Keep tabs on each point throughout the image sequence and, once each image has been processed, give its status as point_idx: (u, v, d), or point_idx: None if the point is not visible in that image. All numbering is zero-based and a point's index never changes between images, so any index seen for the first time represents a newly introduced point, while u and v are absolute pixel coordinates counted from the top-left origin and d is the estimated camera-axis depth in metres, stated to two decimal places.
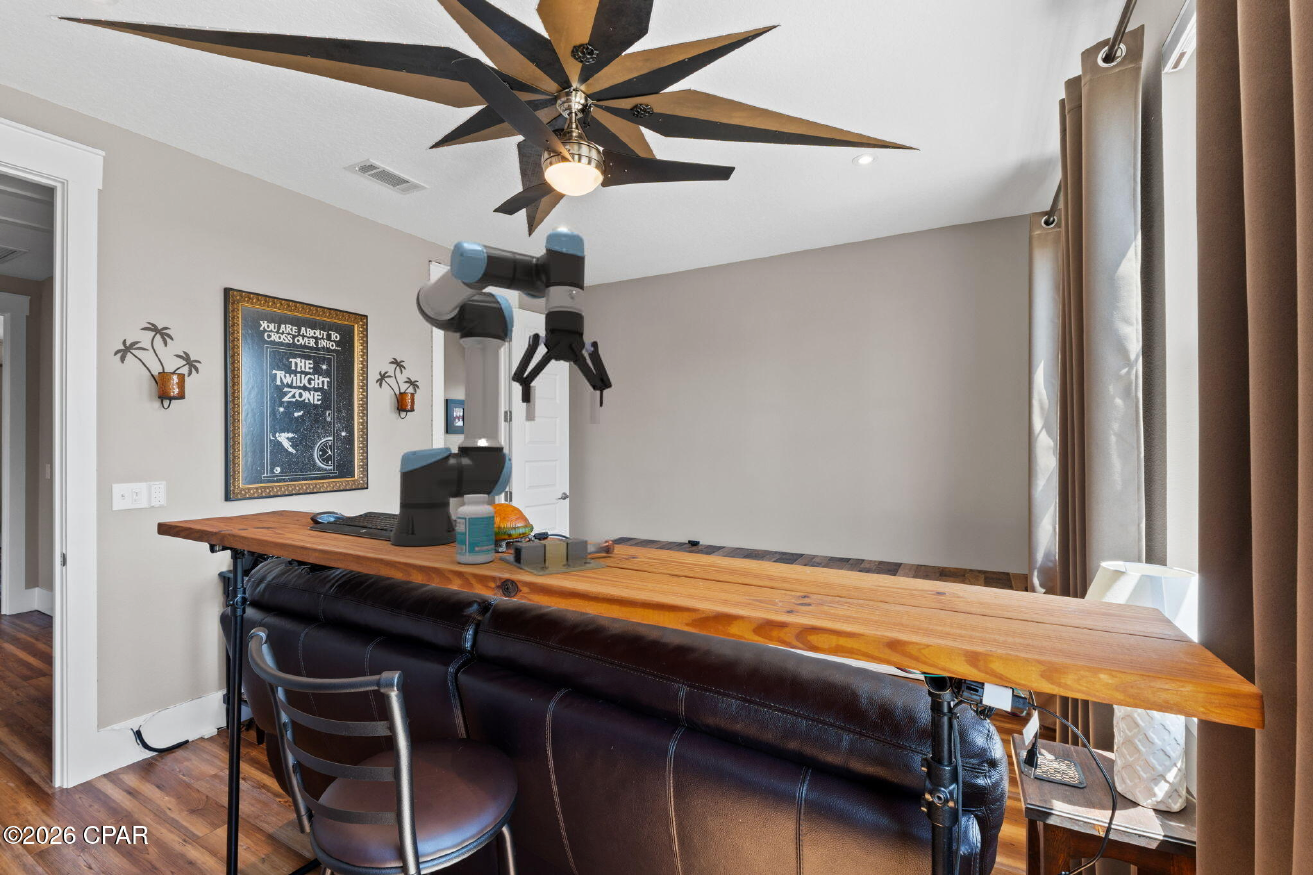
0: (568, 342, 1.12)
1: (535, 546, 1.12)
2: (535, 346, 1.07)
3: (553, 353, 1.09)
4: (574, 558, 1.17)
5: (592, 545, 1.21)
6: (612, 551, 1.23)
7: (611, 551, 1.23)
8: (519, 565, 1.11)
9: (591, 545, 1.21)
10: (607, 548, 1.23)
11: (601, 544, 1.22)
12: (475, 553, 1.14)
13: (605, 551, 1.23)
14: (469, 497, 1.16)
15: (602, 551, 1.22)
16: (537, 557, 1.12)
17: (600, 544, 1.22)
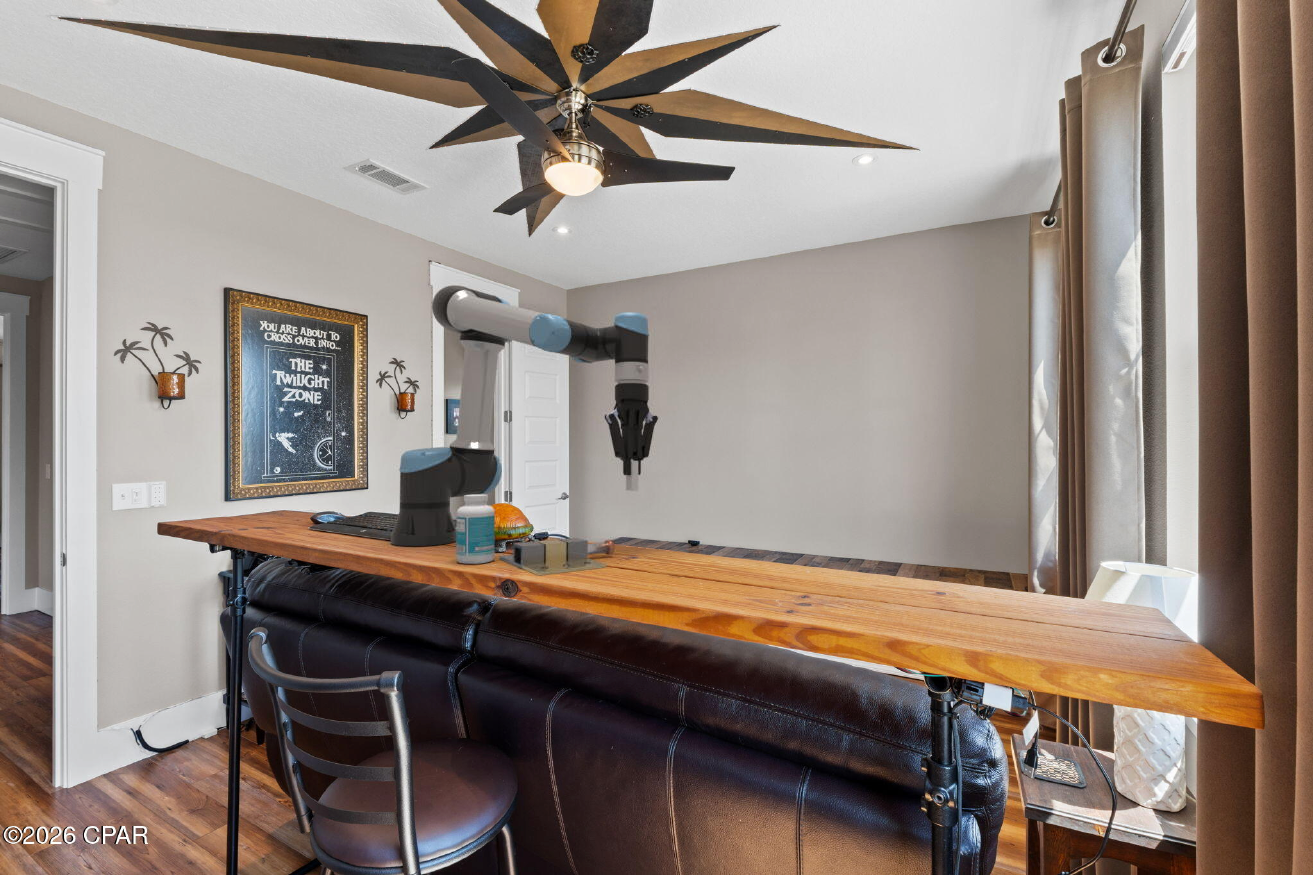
0: (638, 401, 1.28)
1: (535, 546, 1.12)
2: (616, 424, 1.24)
3: (630, 424, 1.26)
4: (574, 558, 1.17)
5: (592, 545, 1.21)
6: (612, 551, 1.23)
7: (611, 551, 1.23)
8: (519, 565, 1.11)
9: (591, 545, 1.21)
10: (607, 548, 1.23)
11: (601, 544, 1.22)
12: (475, 553, 1.14)
13: (605, 551, 1.23)
14: (469, 497, 1.16)
15: (602, 551, 1.22)
16: (537, 557, 1.12)
17: (600, 544, 1.22)
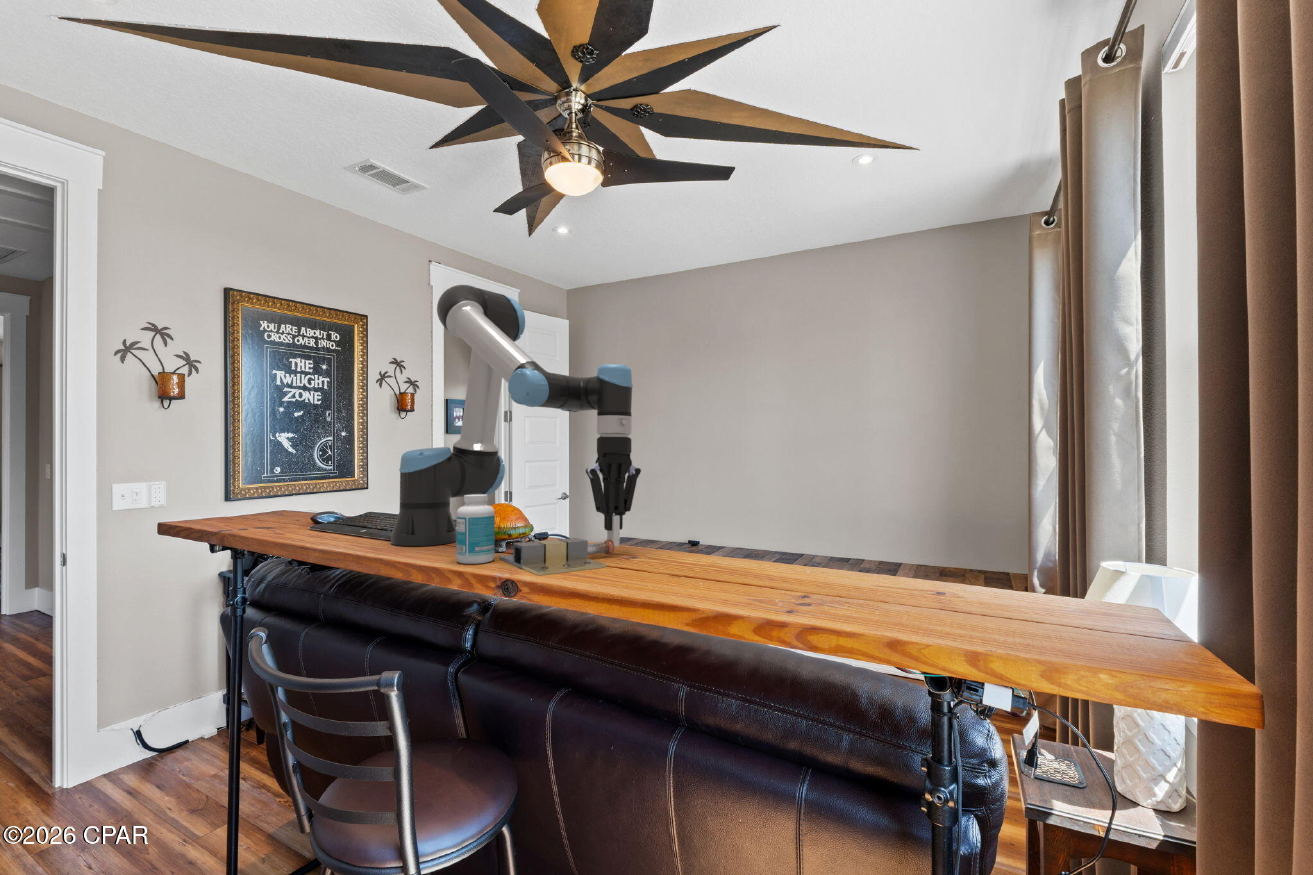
0: (620, 454, 1.25)
1: (535, 546, 1.12)
2: (597, 479, 1.22)
3: (612, 478, 1.23)
4: (574, 558, 1.17)
5: (592, 545, 1.21)
6: (612, 551, 1.23)
7: (611, 551, 1.23)
8: (519, 565, 1.11)
9: (591, 545, 1.21)
10: (607, 548, 1.23)
11: (601, 544, 1.22)
12: (475, 553, 1.14)
13: (605, 551, 1.23)
14: (469, 497, 1.16)
15: (602, 551, 1.22)
16: (537, 557, 1.12)
17: (600, 544, 1.22)
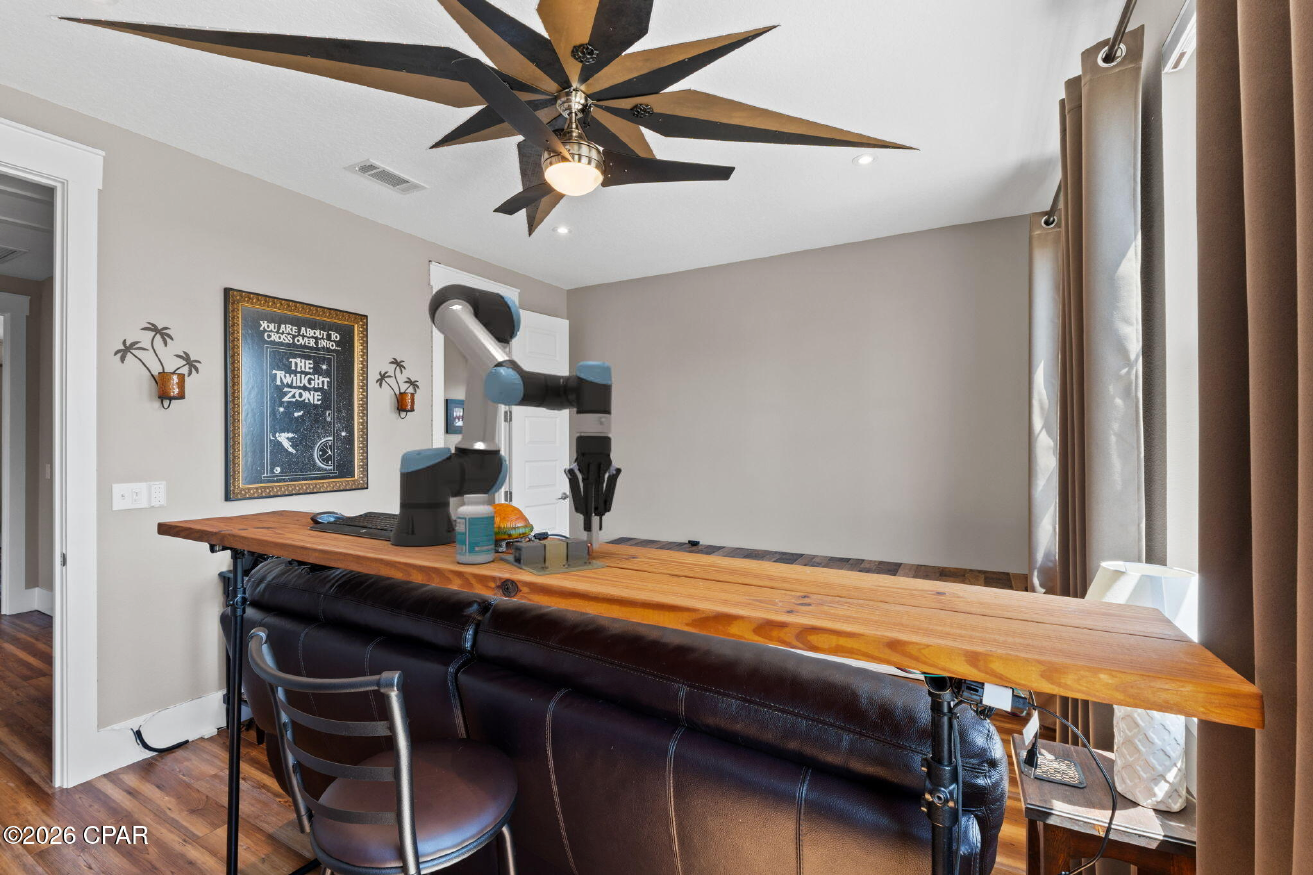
0: (600, 454, 1.22)
1: (535, 546, 1.12)
2: (576, 479, 1.19)
3: (591, 478, 1.20)
4: (574, 558, 1.17)
5: None
6: (591, 553, 1.20)
7: (590, 553, 1.20)
8: (519, 565, 1.11)
9: None
10: None
11: None
12: (475, 553, 1.14)
13: None
14: (469, 497, 1.16)
15: None
16: (537, 557, 1.12)
17: None
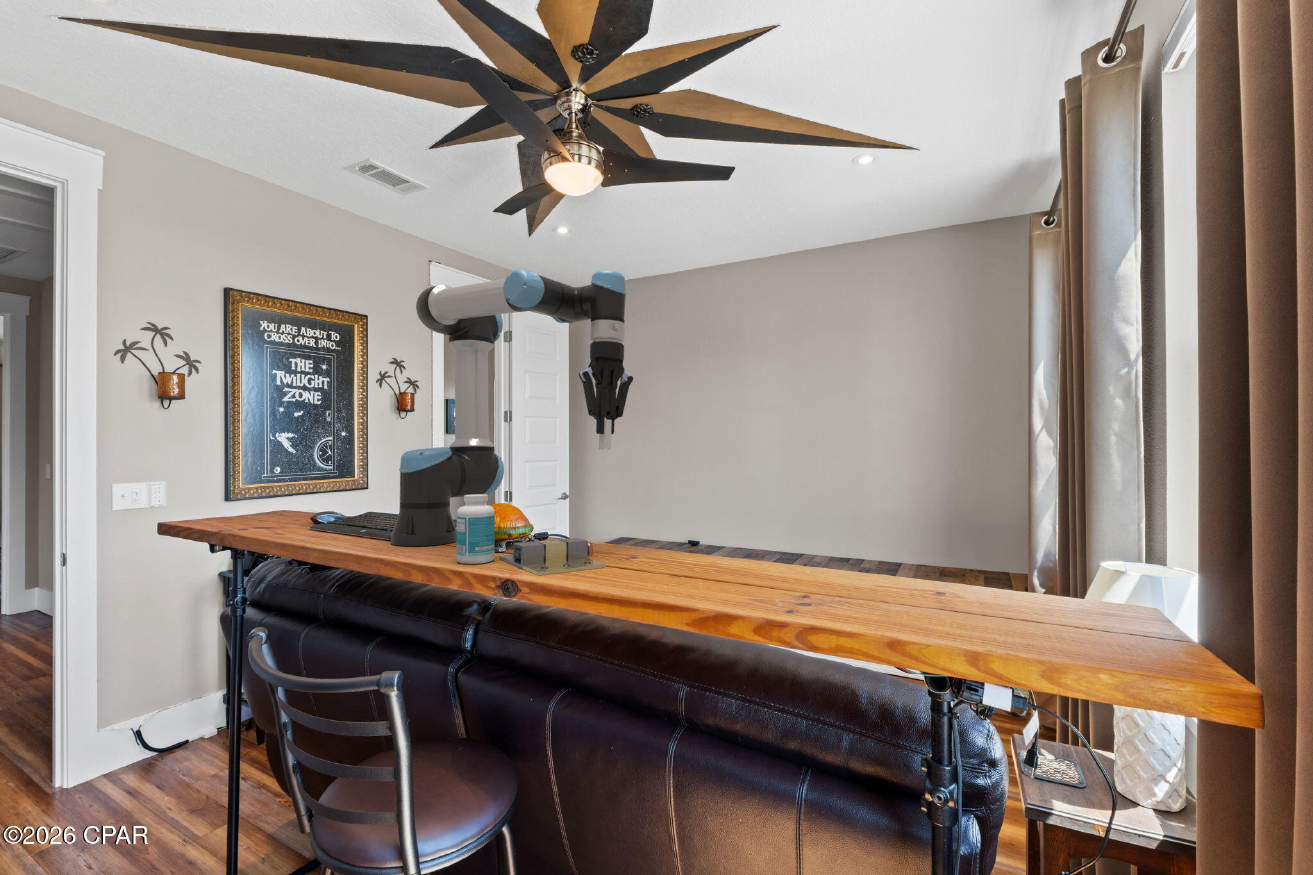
0: (613, 360, 1.27)
1: (535, 546, 1.12)
2: (590, 381, 1.24)
3: (604, 382, 1.26)
4: (574, 558, 1.17)
5: None
6: (591, 553, 1.20)
7: (589, 553, 1.20)
8: (519, 565, 1.11)
9: None
10: None
11: None
12: (475, 553, 1.14)
13: None
14: (469, 497, 1.16)
15: None
16: (537, 557, 1.12)
17: None
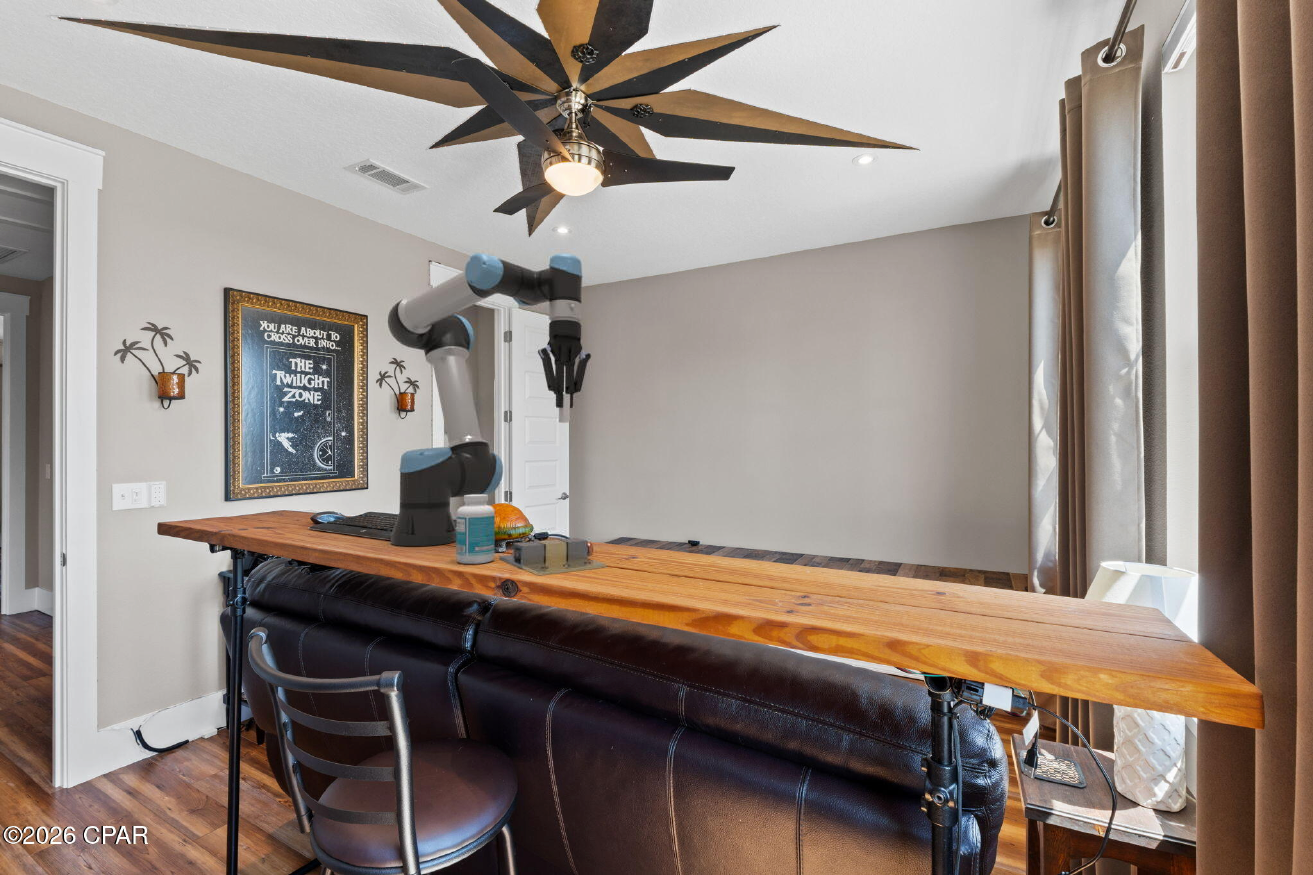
0: (570, 338, 1.35)
1: (535, 546, 1.12)
2: (548, 358, 1.32)
3: (562, 358, 1.33)
4: (574, 558, 1.17)
5: None
6: (591, 553, 1.20)
7: (589, 553, 1.20)
8: (519, 565, 1.11)
9: None
10: None
11: None
12: (475, 553, 1.14)
13: None
14: (469, 497, 1.16)
15: None
16: (537, 557, 1.12)
17: None
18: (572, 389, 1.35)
